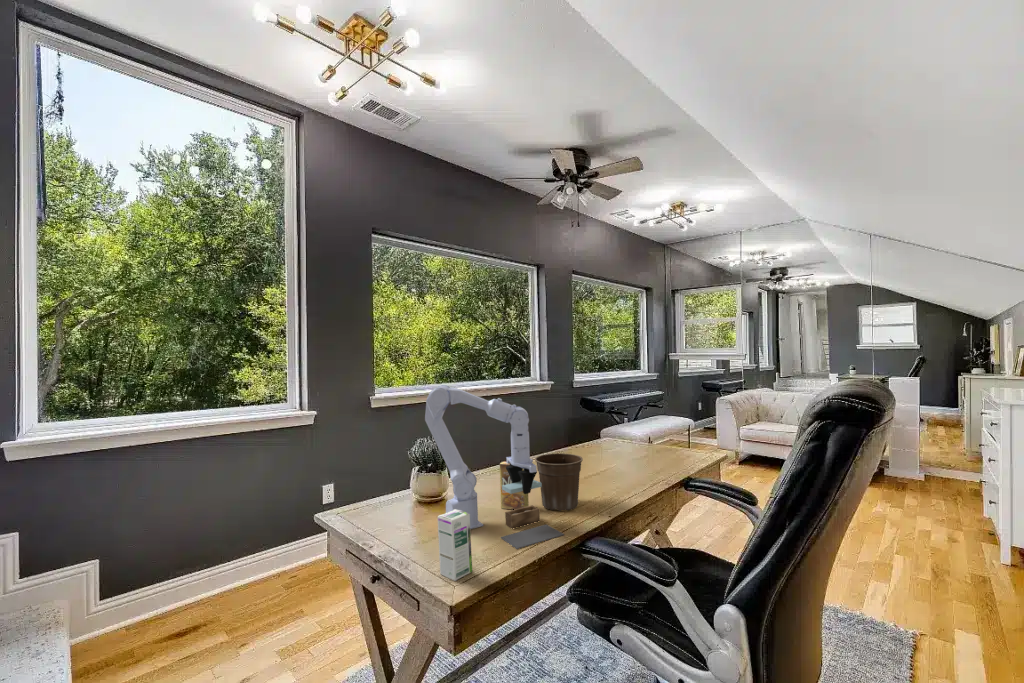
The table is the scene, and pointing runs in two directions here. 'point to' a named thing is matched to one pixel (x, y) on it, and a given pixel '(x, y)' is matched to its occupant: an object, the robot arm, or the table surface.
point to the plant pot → (559, 480)
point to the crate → (522, 516)
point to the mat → (531, 536)
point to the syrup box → (454, 544)
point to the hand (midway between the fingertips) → (521, 490)
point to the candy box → (509, 499)
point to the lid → (519, 486)
